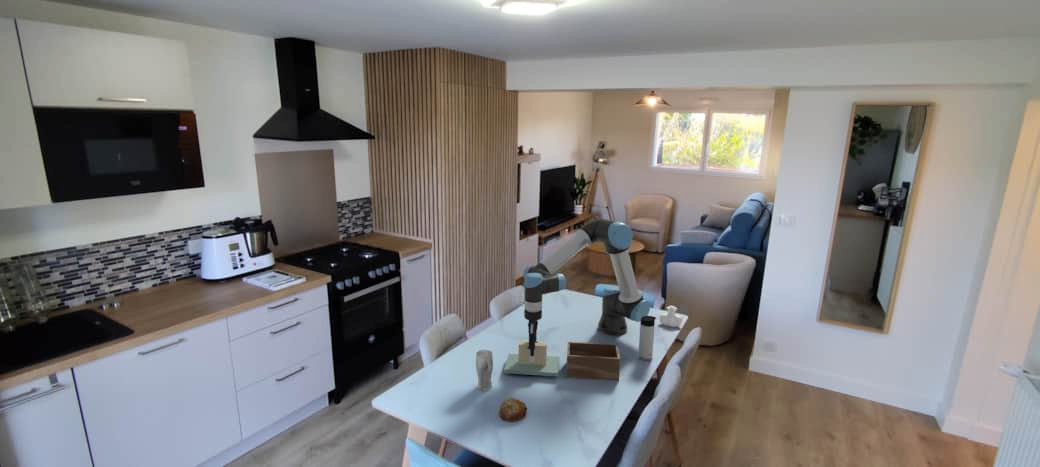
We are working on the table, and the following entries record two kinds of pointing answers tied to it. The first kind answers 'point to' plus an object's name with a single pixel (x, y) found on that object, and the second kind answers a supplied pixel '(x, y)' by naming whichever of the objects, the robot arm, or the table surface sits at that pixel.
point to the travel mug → (646, 337)
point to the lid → (539, 367)
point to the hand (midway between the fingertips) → (532, 359)
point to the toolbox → (593, 361)
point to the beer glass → (484, 369)
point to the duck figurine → (670, 318)
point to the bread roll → (513, 410)
